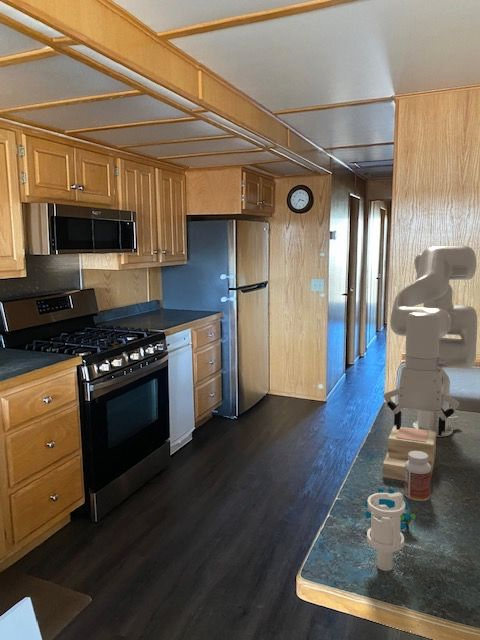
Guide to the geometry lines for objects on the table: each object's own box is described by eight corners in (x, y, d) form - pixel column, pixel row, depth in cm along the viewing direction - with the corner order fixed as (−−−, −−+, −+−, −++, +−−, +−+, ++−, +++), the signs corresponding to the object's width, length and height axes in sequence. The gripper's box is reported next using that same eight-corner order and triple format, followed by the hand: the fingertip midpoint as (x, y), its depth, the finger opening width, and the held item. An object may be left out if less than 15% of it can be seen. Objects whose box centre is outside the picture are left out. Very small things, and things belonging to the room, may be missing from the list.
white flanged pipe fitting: (410, 572, 96) (413, 501, 93) (380, 581, 93) (382, 509, 91) (388, 551, 102) (389, 484, 100) (359, 559, 100) (360, 491, 97)
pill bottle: (435, 497, 123) (437, 455, 121) (419, 505, 119) (421, 462, 117) (414, 487, 128) (415, 447, 126) (398, 494, 124) (400, 453, 123)
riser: (393, 450, 149) (393, 425, 148) (435, 457, 144) (436, 431, 143) (382, 476, 133) (383, 448, 132) (429, 485, 128) (430, 456, 127)
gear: (359, 524, 109) (369, 481, 114) (360, 530, 114) (370, 488, 119) (411, 541, 105) (419, 496, 110) (409, 547, 110) (417, 503, 115)
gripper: (461, 362, 117) (458, 430, 120) (387, 356, 125) (385, 421, 127) (460, 370, 111) (456, 442, 113) (382, 363, 118) (380, 431, 121)
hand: (419, 430), depth 120 cm, fingers open, 9 cm apart
